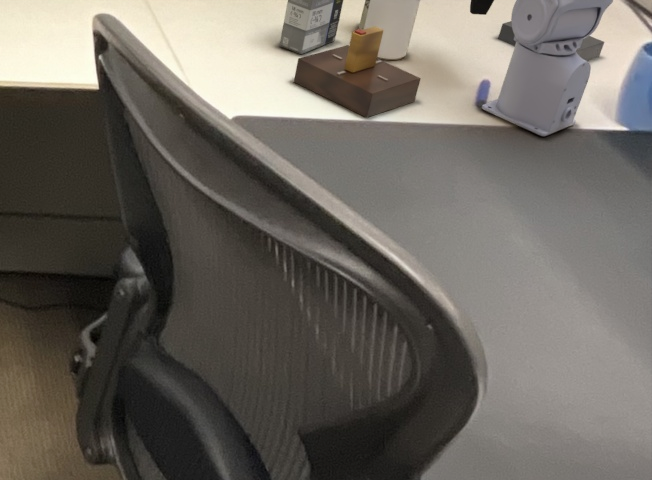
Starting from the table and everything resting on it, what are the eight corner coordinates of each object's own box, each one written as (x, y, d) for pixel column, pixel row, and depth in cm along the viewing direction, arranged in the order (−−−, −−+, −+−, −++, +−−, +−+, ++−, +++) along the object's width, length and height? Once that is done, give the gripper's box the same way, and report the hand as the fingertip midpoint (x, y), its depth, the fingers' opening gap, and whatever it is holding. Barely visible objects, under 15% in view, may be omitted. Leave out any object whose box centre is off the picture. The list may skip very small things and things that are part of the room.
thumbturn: (366, 62, 140) (375, 24, 137) (375, 66, 139) (384, 27, 136) (343, 69, 137) (352, 30, 134) (352, 73, 137) (361, 34, 133)
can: (404, 64, 150) (428, -30, 142) (357, 55, 150) (378, -39, 142) (407, 48, 154) (430, -43, 146) (361, 39, 155) (382, -53, 147)
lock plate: (414, 101, 140) (421, 76, 138) (366, 117, 135) (372, 92, 133) (342, 67, 146) (348, 43, 144) (293, 81, 140) (298, 56, 138)
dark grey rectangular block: (599, 57, 162) (609, 29, 159) (567, 68, 157) (578, 39, 154) (530, 29, 167) (539, 1, 165) (497, 38, 162) (506, 10, 160)
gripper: (446, -132, 139) (417, -19, 148) (494, -98, 129) (460, 21, 138) (496, -128, 141) (465, -16, 150) (547, -94, 130) (510, 24, 140)
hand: (466, 2), depth 144 cm, fingers open, 7 cm apart
